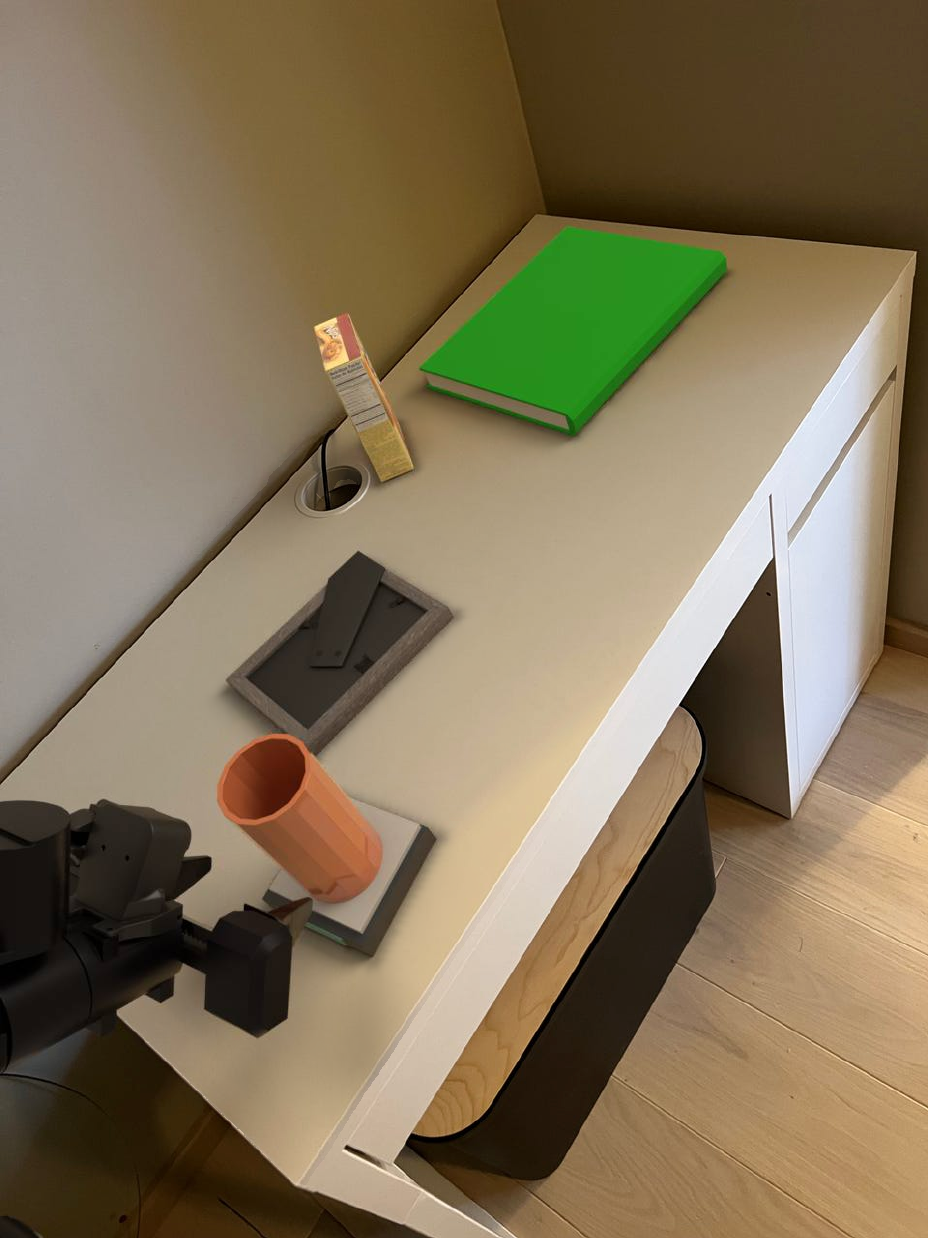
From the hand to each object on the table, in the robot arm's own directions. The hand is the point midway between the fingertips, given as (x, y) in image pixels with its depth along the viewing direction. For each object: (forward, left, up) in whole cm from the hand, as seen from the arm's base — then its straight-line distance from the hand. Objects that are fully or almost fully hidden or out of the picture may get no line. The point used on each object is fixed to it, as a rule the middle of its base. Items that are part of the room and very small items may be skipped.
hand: (258, 882), depth 66 cm
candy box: (+43, +33, -10) cm, 56 cm away
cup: (+5, +1, -8) cm, 9 cm away
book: (+67, +25, -10) cm, 73 cm away
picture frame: (+20, +18, -10) cm, 29 cm away
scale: (+5, +1, -10) cm, 12 cm away
